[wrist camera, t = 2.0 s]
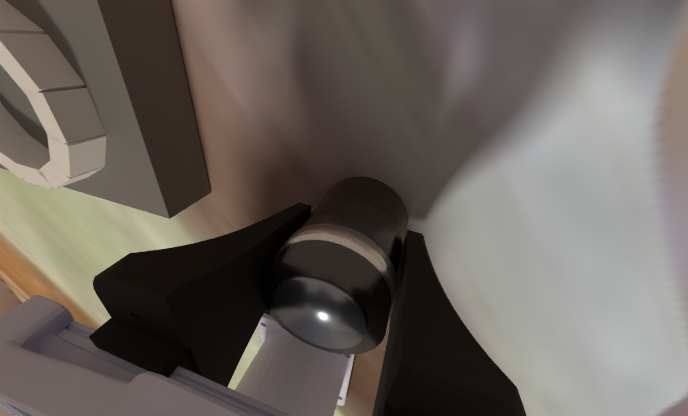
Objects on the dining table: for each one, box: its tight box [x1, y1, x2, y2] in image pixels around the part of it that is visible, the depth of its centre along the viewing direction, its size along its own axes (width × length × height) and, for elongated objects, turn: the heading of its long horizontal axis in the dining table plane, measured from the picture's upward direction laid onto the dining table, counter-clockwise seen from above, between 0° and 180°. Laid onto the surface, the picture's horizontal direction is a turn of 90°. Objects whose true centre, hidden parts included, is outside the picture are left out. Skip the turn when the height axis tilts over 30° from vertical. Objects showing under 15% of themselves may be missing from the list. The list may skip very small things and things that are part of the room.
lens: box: [260, 177, 407, 355], centre depth 11 cm, size 5×5×6 cm
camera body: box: [0, 0, 211, 219], centre depth 13 cm, size 10×15×5 cm, turn 85°
